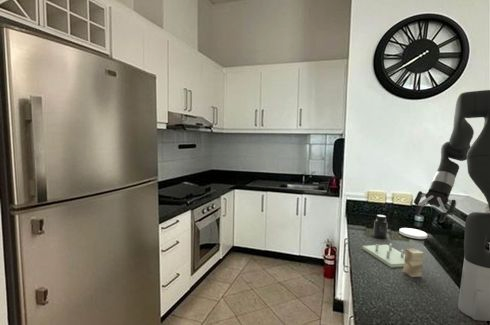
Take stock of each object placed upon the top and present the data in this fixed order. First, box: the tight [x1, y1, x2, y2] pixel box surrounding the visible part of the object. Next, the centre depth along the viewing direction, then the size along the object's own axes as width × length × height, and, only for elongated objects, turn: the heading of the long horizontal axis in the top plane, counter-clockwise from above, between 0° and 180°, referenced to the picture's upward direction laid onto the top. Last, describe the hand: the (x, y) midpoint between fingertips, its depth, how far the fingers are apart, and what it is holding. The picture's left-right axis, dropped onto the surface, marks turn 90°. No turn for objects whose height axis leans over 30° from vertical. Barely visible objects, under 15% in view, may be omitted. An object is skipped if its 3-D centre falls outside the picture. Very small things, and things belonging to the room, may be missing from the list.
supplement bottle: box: [372, 214, 389, 239], centre depth 161 cm, size 7×7×12 cm
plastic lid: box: [398, 227, 428, 240], centre depth 166 cm, size 14×14×2 cm
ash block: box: [402, 247, 424, 278], centre depth 118 cm, size 4×4×10 cm
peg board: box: [362, 243, 405, 268], centre depth 135 cm, size 20×14×4 cm
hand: (428, 218), depth 119 cm, fingers open, 8 cm apart
